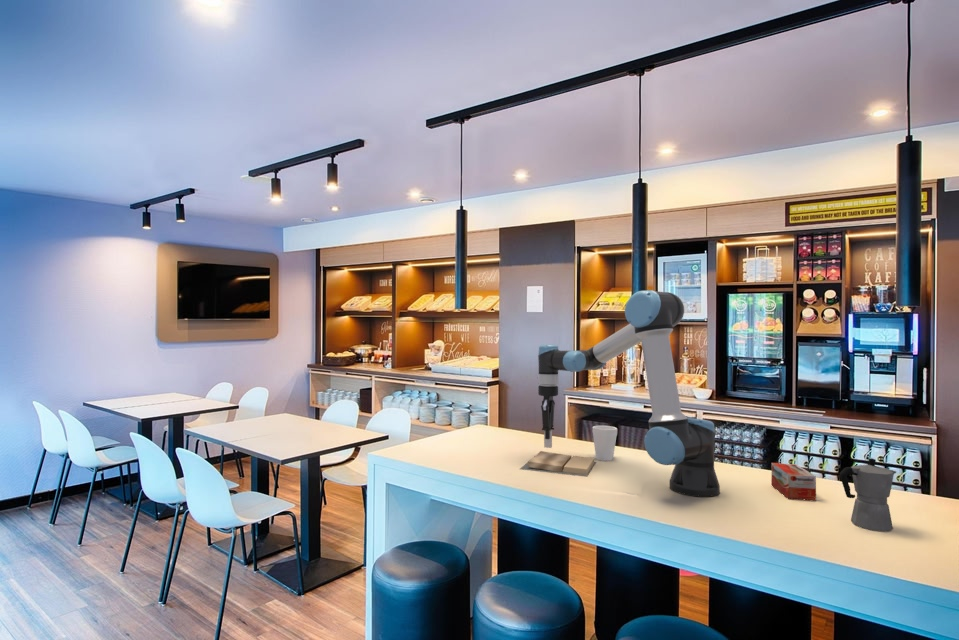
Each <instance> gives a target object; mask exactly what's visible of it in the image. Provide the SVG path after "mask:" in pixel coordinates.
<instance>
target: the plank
mask: <svg viewBox="0 0 959 640" xmlns="http://www.w3.org/2000/svg"><path fill="white" fill-rule="evenodd" d="M571 458H572V455H571V454H565V453H564V454H563V453H556V452H549V451H542V450H540V451H539V452H538V453H537V454H535V455H534V456H533V457H532V458H531V459H529V460H530V461H529V460H528V461H529V465H528V467H531V468H538V469H544V470H550V471H557V472H562V471H563V469H564V466H565V465H566V464H567V463H568V461H569V460H570V459H571Z"/></svg>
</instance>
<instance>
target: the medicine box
mask: <svg viewBox="0 0 959 640" xmlns="http://www.w3.org/2000/svg"><path fill="white" fill-rule="evenodd" d="M770 481H771V485H772V486H773V487H774V489H775V490H776V489H777V490H778V491H779V493H780V494H781V495H782V494H783V495H784V496H783V495H782V496H783V497H784V498H786V499H787V498H788V499H787V500H794V499H798V500H803V499H805V500H804V501H810V500H813V501H812V502H816V500H817V499H816V498H817V497H816V496H817V477H816V475H815V474H813V473H811V472H810V471H808V470H807V469H804V468H803V467H801V466H800V465H798V464H794V463H783V462H782V463H780V462H771V480H770ZM771 485H770V486H771ZM772 486H771V487H772ZM773 487H772V488H773ZM777 490H776V491H777ZM778 491H777V492H778Z"/></svg>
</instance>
